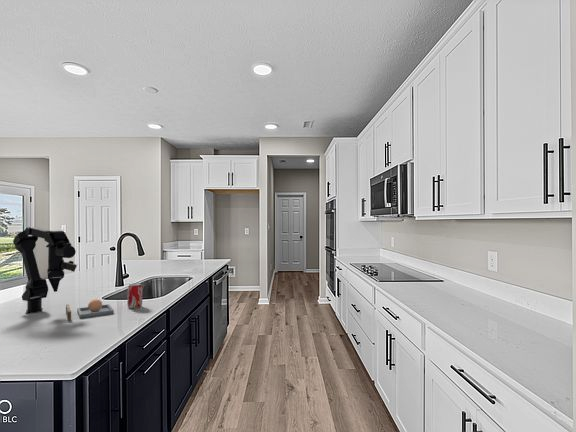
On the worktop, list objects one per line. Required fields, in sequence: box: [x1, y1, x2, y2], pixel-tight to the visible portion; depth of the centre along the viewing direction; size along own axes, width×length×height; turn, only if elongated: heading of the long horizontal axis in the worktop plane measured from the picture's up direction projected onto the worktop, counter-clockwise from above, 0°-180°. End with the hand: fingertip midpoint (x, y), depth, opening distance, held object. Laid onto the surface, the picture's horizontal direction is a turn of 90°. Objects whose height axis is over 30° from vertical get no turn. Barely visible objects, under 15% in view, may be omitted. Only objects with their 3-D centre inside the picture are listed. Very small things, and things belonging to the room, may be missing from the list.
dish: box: [76, 303, 115, 320], centre depth 165 cm, size 14×14×2 cm
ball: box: [87, 298, 103, 312], centre depth 165 cm, size 6×6×6 cm
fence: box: [65, 304, 72, 322], centre depth 158 cm, size 16×1×4 cm, turn 36°
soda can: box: [126, 282, 143, 309], centre depth 175 cm, size 7×7×12 cm
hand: (55, 290), depth 160 cm, fingers open, 9 cm apart
